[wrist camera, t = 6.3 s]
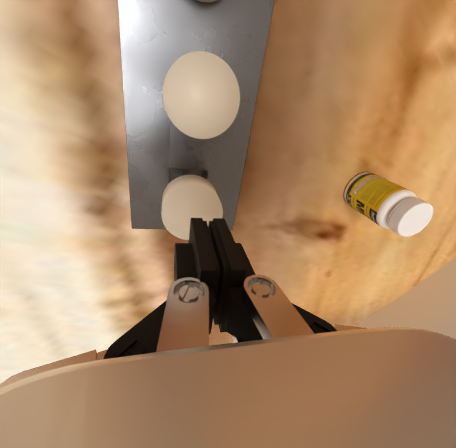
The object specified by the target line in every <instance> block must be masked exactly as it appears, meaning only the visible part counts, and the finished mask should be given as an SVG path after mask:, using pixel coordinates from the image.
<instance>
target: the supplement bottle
mask: <svg viewBox="0 0 456 448" xmlns="http://www.w3.org/2000/svg"><path fill="white" fill-rule="evenodd" d="M344 198H345V201H346V202H347V204H349V205H350V206H351V207H353V208H354V209H356V210H357V211H359V212H360V213H362V214H363V215H365V216H366V217H368V218H369V219H371V220H372V221H373V222H375V223H376V224H378V225H379V226H381V227H383V228H388V229H391V230H392V231H394V232H396V233H397V234H399V235H401V236H404V237H407V236H412V235H414V234H416V233H418V232H420V231H421V230H422V229H423V228H424V227H425V226H426V225H427V224H428V223H429V221H430V220H431V218H432V215H433V207H432V206H431V204H429V203H427V202H425V201H423V200H421V199H419V198H417V196H416V195H415V193H413V192H412V191H410V190H408V189H406V188H404V187H401V186H399V185H397V184H395V183H392V182H390V181H388V180H386V179H384V178H382V177H379V176H377V175H375V174H373V173H368V172H366V173H361V174H359V175H357V176H356V177H354V178H353V179H352V180H351V181H350V182H349V184H348V185H347V187H346V189H345V193H344Z"/></svg>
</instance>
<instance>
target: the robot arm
mask: <svg viewBox="0 0 456 448" xmlns="http://www.w3.org/2000/svg"><path fill="white" fill-rule="evenodd" d="M174 279H175V282H174V283H173V284H172V285H171V286H170V289H169V292H168V297H167V300H166V301H165V302H164V303H163V304H161V305H160V306H159V307H158V308H156V309H155V310H154V311H153V312H151V313H150V314H149V315H148V316H146V317H145V318H144V319H143V320H141V321H140V322H139V323H138V324H136V325H135V326H134V327H133V328H131V329H130V330H129V331H127V332H126V333H125V334H124V335H122V336H121V337H120V338H119V339H117V340H116V341H115V342H114V343H113V344H112V345H111V346H110V347H109V348H108V350H105V351H102V352H98V353H97V352H96V350H93V351H90V352H87V353H83V354H80V355H77V356H73V357H70V358H66V359H63V360H60V361H56V362H53V363H50V364H46V365H43V366H40V367H36V368H33V369H30V370H26V371H23V372H21V373H18V374H16V375H14V376H11V377H10V378H8V379H7V380H6V381H4V382H3V383H1V384H0V448H456V339H454V338H451V337H449V336H446V335H443V334H439V333H436V332H432V331H428V330H424V329H416V328H408V327H380V328H361V327H353V326H344V325H336V324H335V325H334V327H333V326H332V325H331V324H329V323H328V322H326V321H325V320H323V319H321V318H319V317H317V316H315V315H313V314H311V313H310V312H308V311H306V310H304V309H302V308H300V307H298V306H296V305H294V304H292V303H291V302H290V301H289V299H288V298H287V297H286V295H285V294H284V293H283V291H282V290H281V289H280V287H279V286H278V285H277V284H276V282H275V281H274V280H272V279H270V278H269V277H266V276H263V275H255V273H254V270H253V268H252V266H251V264H250V262H249V260H248V258H247V255H246V253H245V251H244V249H243V247H242V245H241V244H240V243H235V242H234V239H233V237H232V235H231V232H230V230H229V228H228V225H227V223H226V221H225V219H224V218H213V221H209V224H208V225H207V221H203V219H202V218H191V220H190V232H189V243H175V257H174ZM213 319H214V323H215V325H218V324H219V328H220V332H228V333H229V334H231V335H232V343H229V344H221V345H212V346H209V334H210V333H211V327H212V321H213Z"/></svg>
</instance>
